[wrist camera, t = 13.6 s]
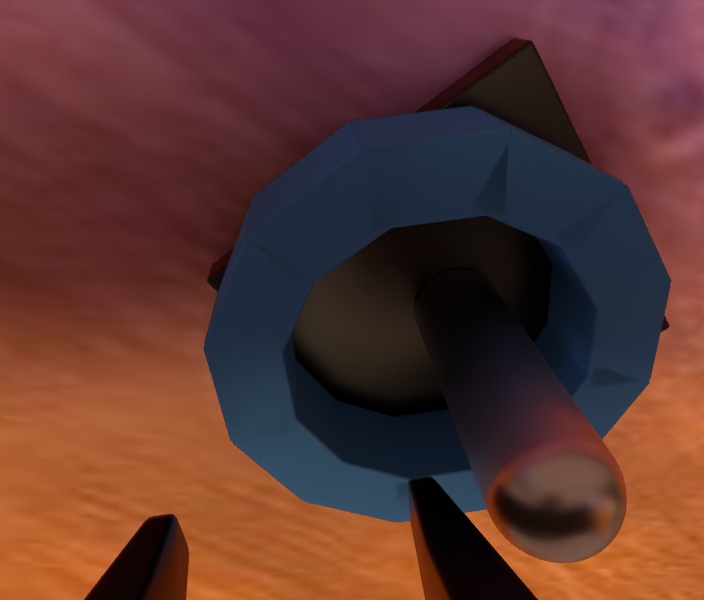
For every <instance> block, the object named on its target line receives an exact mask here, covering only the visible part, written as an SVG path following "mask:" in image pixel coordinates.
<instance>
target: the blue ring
mask: <svg viewBox="0 0 704 600" xmlns="http://www.w3.org/2000/svg"><path fill="white" fill-rule="evenodd" d="M479 216H488V217H490V218H493V219H495V220H497V221H500V222H502V223H504V224H507V225H509V226H511V227H514V228H516V229H519V230H521V231H523V232H526V233H528V234H530V235H533V236H535V237H536V238H537V240H538V241H539V243H540V245H541V246H542V248H543V250H544V252H545V253H546V255H547V257H548V258H549V260H550V262H551V263H552V273H551V284H550V296H549V307H548V318H547V324H546V325H545V327H544V328H543V329H542V331H541V332H540V334H539V335H538V337H537V338H536V339H535V341H534V342H533V343H534V344H535V345H536V347H537V348H538V350H539V351H540V353H541V354H542V355H543V357H544V358H545V360H546V361H547V362H548V364H549V365H550V367H551V368H552V370H553V371H554V372H555V374H556V375H557V377H558V378H559V380H560V381H561V382H562V384H563V385H564V387H565V388H566V390H567V391H568V392H569V394H570V395H571V397H572V398H573V400H574V401H575V402H576V404H577V405H578V407H579V408H580V409H581V411H582V412H583V414H584V415H585V417H586V418H587V419H588V421H589V422H590V424H591V425H592V427H593V428H594V429H595V431H596V432H597V434H598V435H599V437H600V438H601V439H603V438H604V436H605V435H606V434H607V433H608V432H609V430H610V429H611V428H612V427H613V426H614V424H615V423H616V422H617V421H618V420H619V419H620V417H621V416H622V415H623V414H624V413H625V411H626V410H627V409H628V408H629V407H630V405H631V404H632V403H633V402H634V401H635V399H636V398H637V397H638V396H639V395H640V394H641V392H642V391H643V390H644V389H645V388H646V386H647V385H648V384H649V380H650V378H651V374H652V369H653V364H654V360H655V355H656V351H657V346H658V341H659V337H660V332H661V327H662V323H663V318H664V313H665V309H666V304H667V300H668V295H669V290H670V283H671V279H670V277H669V275H668V272H667V270H666V268H665V266H664V264H663V262H662V259H661V257H660V255H659V253H658V251H657V249H656V246H655V244H654V242H653V240H652V238H651V236H650V233H649V231H648V229H647V227H646V225H645V223H644V220H643V218H642V216H641V214H640V212H639V210H638V207H637V205H636V203H635V201H634V199H633V197H632V194H631V192H630V190H629V188H628V186H627V185H625V184H624V183H623V182H622V181H620V180H618V179H617V178H615V177H613V176H611V175H609V174H607V173H606V172H604V171H602V170H600V169H598V168H597V167H595V166H593V165H591V164H589V163H587V162H586V161H584V160H582V159H580V158H578V157H576V156H575V155H573V154H571V153H569V152H567V151H565V150H563V149H561V148H559V147H557V146H555V145H553V144H551V143H549V142H546V141H544V140H542V139H540V138H538V137H536V136H534V135H532V134H530V133H528V132H526V131H524V130H522V129H520V128H518V127H516V126H514V125H512V124H510V123H507V122H505V121H503V120H501V119H499V118H497V117H495V116H493V115H491V114H489V113H487V112H485V111H483V110H481V109H479V108H474V107H472V106H466V107H458V108H450V109H442V110H435V111H427V112H419V113H411V114H403V115H395V116H387V117H380V118H372V119H364V120H356V121H351V122H350V123H347V124H345V125H344V126H343V127H341V128H340V129H339V130H338V131H336V132H335V133H334V134H332V135H331V136H330V137H329V138H327V139H326V140H325V141H323V142H322V143H321V144H319V145H318V146H317V147H316V148H314V149H313V150H312V151H310V152H309V153H308V154H307V155H305V156H304V157H303V158H301V159H300V160H299V161H298V162H296V163H295V164H294V165H292V166H291V167H290V168H288V169H287V170H286V171H285V172H283V173H282V174H281V175H279V176H278V177H277V178H276V179H274V180H273V181H272V182H270V183H269V184H268V185H267V186H265V187H264V188H263V189H261V190H260V191H259V192H258V193H256V194H255V195H254V198H253V199H252V200H251V203H250V206H249V208H248V211H247V214H246V217H245V219H244V222H243V225H242V227H241V230H240V233H239V236H238V238H237V241H236V244H235V246H234V249H233V252H232V255H231V257H230V260H229V263H228V265H227V268H226V271H225V274H224V276H223V279H222V282H221V285H220V287H219V290H218V293H217V297H216V301H215V304H214V308H213V312H212V316H211V320H210V323H209V327H208V331H207V335H206V339H205V346H204V352H205V355H206V358H207V362H208V365H209V369H210V372H211V375H212V379H213V382H214V386H215V389H216V393H217V396H218V399H219V403H220V406H221V410H222V413H223V416H224V420H225V423H226V427H227V430H228V433H229V437H230V440H231V441H232V442H233V444H234V445H235V446H237V447H238V448H239V449H240V450H241V451H243V452H244V453H245V454H246V455H248V456H249V457H250V458H251V459H252V460H254V461H255V462H256V463H257V464H258V465H260V466H261V467H262V468H263V469H265V470H266V471H267V472H268V473H269V474H271V475H272V476H273V477H274V478H276V479H277V480H278V481H279V482H280V483H282V484H283V485H284V486H285V487H286V488H288V489H289V490H290V491H291V492H293V493H294V494H295V495H296V496H297V497H299V498H300V499H301V500H303V501H305V502H308V503H312V504H317V505H321V506H326V507H330V508H334V509H339V510H343V511H348V512H352V513H357V514H361V515H365V516H370V517H374V518H379V519H383V520H388V521H392V522H405V521H411V520H410V512H409V497H408V481H409V480H410V479H413V478H420V477H427V476H430V477H432V478H434V479H435V480H436V481H437V482H438V484H439V485H440V486H441V487H442V488H443V489H444V491H445V492H446V493H447V494H448V495H449V496H450V498H451V499H452V500H453V501H454V502H455V503H456V505H457V506H458V507H459V508H460V509H461V510H462V512H463V513H464V512H471V511H478V510H484V509H487V507H486V505H485V503H484V500H483V497H482V495H481V492H480V489H479V487H478V484H477V481H476V479H475V476H474V474H473V471H472V468H471V466H470V463H469V460H468V458H467V455H466V453H465V450H464V447H463V445H462V442H461V439H460V437H459V434H458V431H457V429H456V426H455V424H454V421H453V418H452V416H451V413H450V410H449V409H444V410H437V411H431V412H424V413H417V414H410V415H403V416H396V417H393V416H390V415H386V414H383V413H379V412H376V411H372V410H369V409H365V408H362V407H358V406H355V405H351V404H348V403H344V402H341V401H337V400H336V399H335V398H334V397H333V396H332V395H331V394H330V393H329V392H328V391H327V390H326V389H325V388H324V387H323V386H322V385H321V384H320V383H319V382H318V381H317V380H316V379H315V378H314V377H313V376H312V375H311V374H310V373H309V372H308V371H307V370H306V369H305V368H304V367H303V366H302V365H301V364H300V363H299V362H298V361H297V360H296V356H295V351H294V346H293V341H292V335H291V334H292V332H293V329H294V327H295V325H296V323H297V320H298V318H299V316H300V314H301V312H302V309H303V307H304V305H305V303H306V301H307V298H308V296H309V294H310V292H311V290H312V287H313V285H314V283H315V282H316V281H317V280H318V279H320V278H321V277H323V276H324V275H325V274H327V273H328V272H330V271H331V270H333V269H334V268H335V267H337V266H338V265H340V264H341V263H342V262H344V261H345V260H347V259H348V258H350V257H351V256H352V255H354V254H355V253H357V252H358V251H360V250H361V249H362V248H364V247H365V246H367V245H368V244H369V243H371V242H372V241H374V240H375V239H377V238H378V237H379V236H381V235H382V234H384V233H385V232H386V231H388V230H389V229H391V228H397V227H405V226H412V225H420V224H427V223H435V222H442V221H449V220H457V219H464V218H472V217H479Z"/></svg>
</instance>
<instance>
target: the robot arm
mask: <svg viewBox="0 0 704 600" xmlns="http://www.w3.org/2000/svg"><path fill="white" fill-rule="evenodd" d="M408 497H409V512H410V520H411V527H412V532H413V537H414V542H415V548H416V553H417V558H418V564H419V569H420V574H421V579H422V585H423V590H424V595H425V600H538V599H537V598H536V597H535V596H534V594H533V593H532V592H531V591H530V590H529V589H528V587H527V586H526V585H525V584H524V583H523V582H522V580H521V579H520V578H519V577H518V576H517V575H516V573H515V572H514V571H513V570H512V569H511V568H510V566H509V565H508V564H507V563H506V562H505V561H504V559H503V558H502V557H501V556H500V555H499V554H498V552H497V551H496V550H495V549H494V548H493V547H492V545H491V544H490V543H489V542H488V541H487V540H486V538H485V537H484V536H483V535H482V534H481V533H480V531H479V530H478V529H477V528H476V527H475V526H474V524H473V523H472V522H471V521H470V520H469V519H468V517H467V516H466V515H465V514H464V513H463V512H462V510H461V509H460V508H459V507H458V506H457V505H456V503H455V502H454V501H453V500H452V499H451V498H450V496H449V495H448V494H447V493H446V492H445V491H444V489H443V488H442V487H441V486H440V485H439V484H438V482H437V481H436V480H435V479H434V478H432V477H430V476H427V477H420V478H413V479H410V480H409V481H408ZM188 564H189V552H188V546H187V543H186V540H185V538H184V535H183V532H182V530H181V527H180V525H179V522H178V520H177V518H176V516H175V515H173V514H165V515H158V516H152V517H150V518H148V519H147V520H146V521H145V522H144V523H143V524H142V526H141V527H140V528H139V529H138V531H137V532H136V533H135V535H134V536H133V537H132V538H131V540H130V541H129V542H128V544H127V545H126V546H125V547H124V549H123V550H122V551H121V553H120V554H119V555H118V556H117V558H116V559H115V560H114V562H113V563H112V564H111V565H110V567H109V568H108V569H107V571H106V572H105V573H104V574H103V576H102V577H101V578H100V580H99V581H98V582H97V584H96V585H95V586H94V587H93V589H92V590H91V591H90V593H89V594H88V595H87V596H86V598H85V599H84V600H186V591H187V578H188Z"/></svg>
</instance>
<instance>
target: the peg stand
mask: <svg viewBox="0 0 704 600" xmlns="http://www.w3.org/2000/svg"><path fill="white" fill-rule="evenodd" d="M466 106H472V107H474V108H479V109H481V110H483V111H485V112H487V113H489V114H491V115H493V116H495V117H497V118H499V119H501V120H503V121H505V122H507V123H510V124H512V125H514V126H516V127H518V128H520V129H522V130H524V131H526V132H528V133H530V134H532V135H534V136H536V137H538V138H540V139H542V140H544V141H546V142H549V143H551V144H553V145H555V146H557V147H559V148H561V149H563V150H565V151H567V152H569V153H571V154H573V155H575V156H576V157H578V158H580V159H582V160H584V161H586V162H587V163H589V164H591V162H590V159H589V157H588V155H587V153H586V151H585V149H584V147H583V145H582V143H581V141H580V139H579V137H578V135H577V132H576V130H575V128H574V126H573V124H572V122H571V120H570V118H569V116H568V114H567V112H566V110H565V108H564V105H563V103H562V101H561V99H560V97H559V95H558V93H557V91H556V89H555V87H554V85H553V83H552V81H551V78H550V76H549V74H548V72H547V70H546V68H545V66H544V64H543V62H542V60H541V58H540V56H539V54H538V51H537V49H536V47H535V45H534V43H533V42H532V41H530V40H524V39H518V38H515V39H513V40H511V41H510V42H509V43H507V44H506V45H505V46H503V47H502V48H501V49H499V50H498V51H497V52H495V53H494V54H493V55H491V56H490V57H489V58H487V59H486V60H485V61H483V62H482V63H481V64H479V65H478V66H477V67H475V68H474V69H473V70H471V71H470V72H469V73H467V74H466V75H465V76H463V77H462V78H461V79H459V80H458V81H457V82H455V83H454V84H453V85H451V86H450V87H449V88H447V89H446V90H444V91H443V92H442V93H440V94H439V95H438V96H436V97H435V98H434V99H432V100H431V101H430V102H428V103H427V104H426V105H424V106H423V107H422V108H420V109H419V110H418V111H416V112H415V113H419V112H427V111H435V110H442V109H450V108H458V107H466ZM591 165H592V164H591ZM233 249H234V248H233ZM233 249H232V250H230V251H229V252H228V253H226V254H225V255H224V256H222V257H221V258H220V259H218V260H217V261H216V262H214V263H213V264H212V266H211V269H210V273H209V276H208V279H207V281H208V283H209V284H210V285H211V286H212V287H213V288H214V289H215V290H216V291H217V292H218V290H219V287H220V285H221V282H222V279H223V276H224V274H225V271H226V268H227V265H228V263H229V260H230V257H231V255H232V252H233ZM551 273H552V263H551V262H550V260H549V258H548V257H547V255H546V253H545V252H544V250H543V248H542V246H541V245H540V243H539V241H538V240H537V238H536V237H535V236H533V235H530V234H528V233H526V232H523V231H521V230H519V229H516V228H514V227H511V226H509V225H507V224H504V223H502V222H500V221H497V220H495V219H493V218H490V217H488V216H479V217H472V218H464V219H457V220H449V221H442V222H435V223H427V224H420V225H412V226H405V227H397V228H391V229H389V230H388V231H386V232H385V233H384V234H382V235H381V236H379V237H378V238H377V239H375V240H374V241H372V242H371V243H369V244H368V245H367V246H365V247H364V248H362V249H361V250H360V251H358V252H357V253H355V254H354V255H352V256H351V257H350V258H348V259H347V260H345V261H344V262H342V263H341V264H340V265H338V266H337V267H335V268H334V269H333V270H331V271H330V272H328V273H327V274H325V275H324V276H323V277H321V278H320V279H318V280H317V281H316V282H315V283H314V285H313V287H312V290H311V292H310V294H309V296H308V298H307V301H306V303H305V305H304V307H303V309H302V312H301V314H300V316H299V318H298V320H297V323H296V325H295V327H294V329H293V332H292V334H291V335H292V341H293V346H294V351H295V356H296V360H297V361H298V362H299V363H300V364H301V365H302V366H303V367H304V368H305V369H306V370H307V371H308V372H309V373H310V374H311V375H312V376H313V377H314V378H315V379H316V380H317V381H318V382H319V383H320V384H321V385H322V386H323V387H324V388H325V389H326V390H327V391H328V392H329V393H330V394H331V395H332V396H333V397H334V398H335V399H336V400H337V401H341V402H344V403H348V404H351V405H355V406H358V407H362V408H365V409H369V410H372V411H376V412H379V413H383V414H386V415H390V416H393V417H396V416H403V415H410V414H417V413H424V412H431V411H437V410H444V409H449V410H450V413H451V416H452V418H453V421H454V424H455V426H456V429H457V431H458V434H459V437H460V439H461V442H462V445H463V447H464V450H465V453H466V455H467V458H468V460H469V463H470V466H471V468H472V471H473V474H474V476H475V479H476V481H477V484H478V487H479V489H480V492H481V495H482V497H483V500H484V503H485V505H486V507H487V510H488V512H489V514H490V517H491V519H492V521H493V522H494V524H495V525H496V527H497V528H498V530H499V531H500V532H501V533H502V535H503V536H504V537H505V538H506V539H507V540H508V541H509V542H511V543H512V544H513V545H514V546H515V547H517V548H518V549H520V550H521V551H523V552H525V553H526V554H528V555H530V556H533V557H535V558H538V559H540V560H544V561H549V562H554V563H571V562H578V561H582V560H585V559H588V558H590V557H592V556H594V555H596V554H598V553H599V552H601V551H602V550H603V549H604V548H606V547H607V546H608V545H609V544H610V543H611V542H612V541H613V539H614V538H615V537H616V535H617V533H618V532H619V530H620V528H621V526H622V523H623V520H624V517H625V513H626V505H627V495H626V486H625V482H624V478H623V475H622V472H621V470H620V467H619V465H618V463H617V462H616V460H615V458H614V457H613V455H612V454H611V452H610V451H609V449H608V448H607V447H606V445H605V444H604V442H603V441H602V439H601V438H600V437H599V435H598V434H597V432H596V431H595V429H594V428H593V427H592V425H591V424H590V422H589V421H588V419H587V418H586V417H585V415H584V414H583V412H582V411H581V409H580V408H579V407H578V405H577V404H576V402H575V401H574V400H573V398H572V397H571V395H570V394H569V392H568V391H567V390H566V388H565V387H564V385H563V384H562V382H561V381H560V380H559V378H558V377H557V375H556V374H555V372H554V371H553V370H552V368H551V367H550V365H549V364H548V362H547V361H546V360H545V358H544V357H543V355H542V354H541V353H540V351H539V350H538V348H537V347H536V345H535V344H534V343H533V342H534V341H535V339H536V338H537V337H538V335H539V334H540V332H541V331H542V329H543V328H544V327H545V325H546V324H547V318H548V307H549V296H550V284H551ZM668 328H669V324H668V321H667V319H666V317H665V315H664V318H663V323H662V327H661V332H662V331H664V330H666V329H668ZM661 332H660V333H661Z"/></svg>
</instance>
